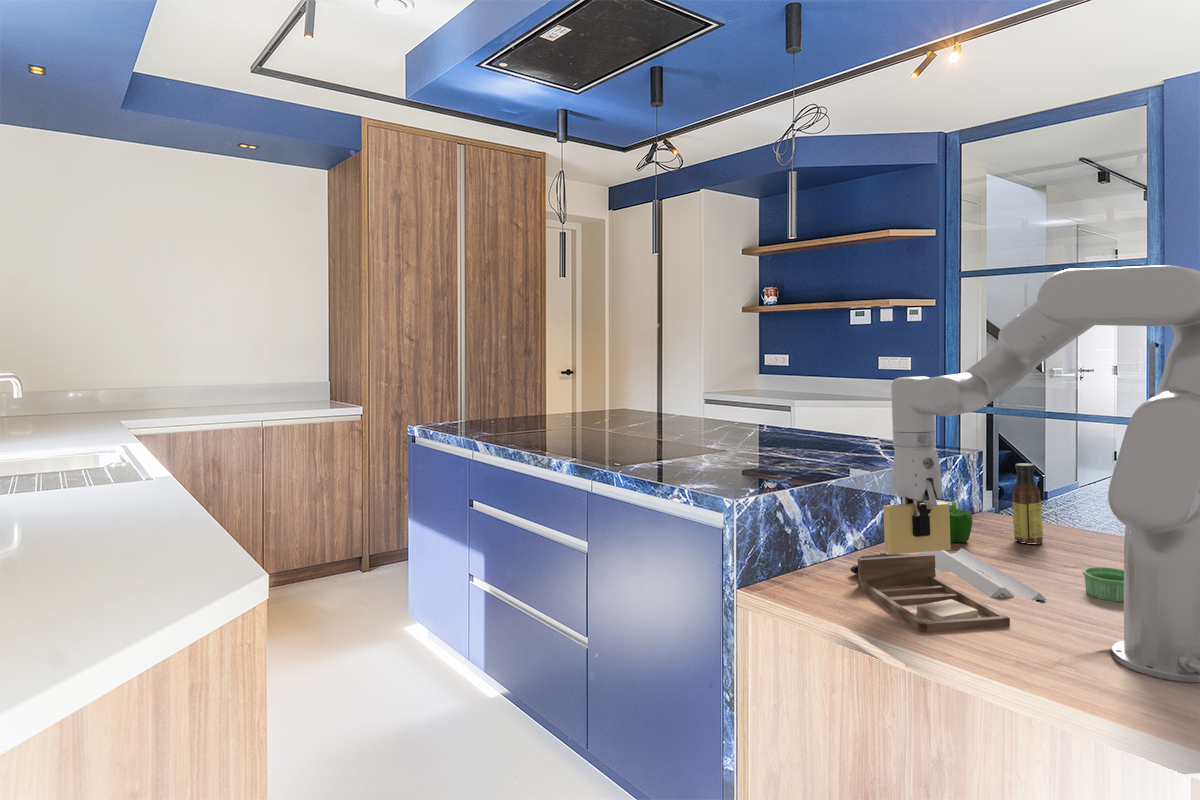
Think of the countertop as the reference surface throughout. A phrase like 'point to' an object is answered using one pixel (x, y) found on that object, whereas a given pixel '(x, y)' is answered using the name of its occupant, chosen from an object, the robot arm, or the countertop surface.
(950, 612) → the offcut upper
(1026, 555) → the countertop surface
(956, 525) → the bell pepper
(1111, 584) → the ramekin
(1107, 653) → the countertop surface
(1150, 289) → the robot arm
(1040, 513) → the sauce bottle
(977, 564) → the crown molding
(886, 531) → the panel
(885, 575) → the rack
